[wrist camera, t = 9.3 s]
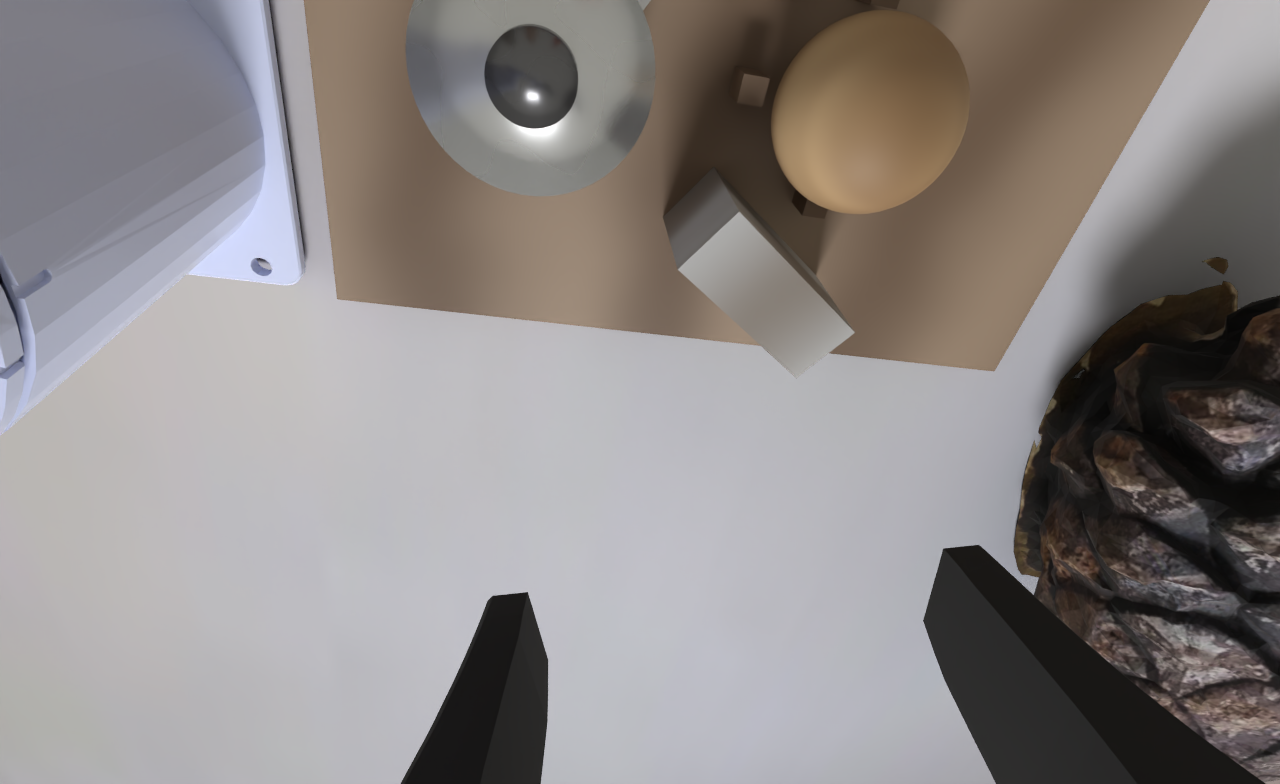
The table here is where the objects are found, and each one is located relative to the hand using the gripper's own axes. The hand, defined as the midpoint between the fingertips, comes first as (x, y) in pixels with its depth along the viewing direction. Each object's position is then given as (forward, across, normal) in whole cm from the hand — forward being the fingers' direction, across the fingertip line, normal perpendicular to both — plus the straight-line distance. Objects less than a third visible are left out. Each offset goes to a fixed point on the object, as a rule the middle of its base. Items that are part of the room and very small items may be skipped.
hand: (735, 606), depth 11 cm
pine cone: (+11, -16, +8) cm, 22 cm away
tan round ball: (+9, -4, -6) cm, 12 cm away
